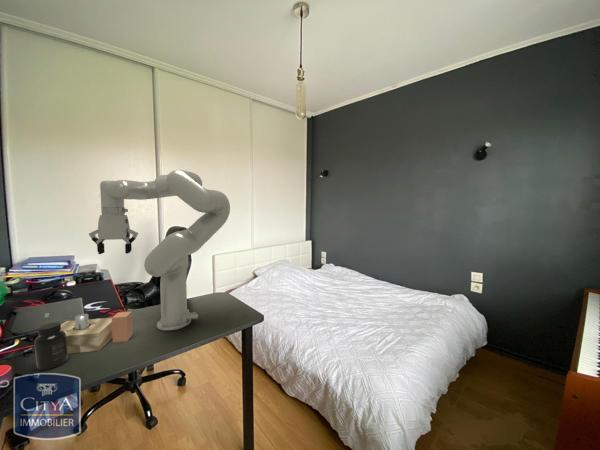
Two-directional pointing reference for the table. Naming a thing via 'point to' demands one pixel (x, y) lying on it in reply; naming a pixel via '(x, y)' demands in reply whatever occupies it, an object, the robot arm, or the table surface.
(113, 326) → the square rust bit
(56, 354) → the supplement bottle
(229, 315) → the table surface
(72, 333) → the socket block
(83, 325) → the round metal bit
